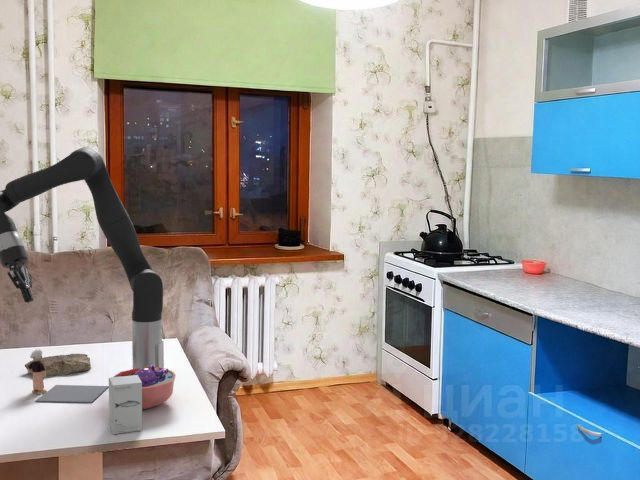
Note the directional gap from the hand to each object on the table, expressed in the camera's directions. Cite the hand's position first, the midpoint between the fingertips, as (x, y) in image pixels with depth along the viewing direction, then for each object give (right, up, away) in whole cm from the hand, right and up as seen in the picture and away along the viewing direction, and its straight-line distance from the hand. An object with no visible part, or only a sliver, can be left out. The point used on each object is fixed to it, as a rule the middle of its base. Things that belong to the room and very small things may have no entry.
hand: (29, 301), depth 202 cm
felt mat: (+16, -26, -7) cm, 32 cm away
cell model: (+39, -28, -15) cm, 50 cm away
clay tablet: (+2, -24, +16) cm, 29 cm away
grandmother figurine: (+5, -26, -6) cm, 27 cm away
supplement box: (+38, -29, -32) cm, 58 cm away
